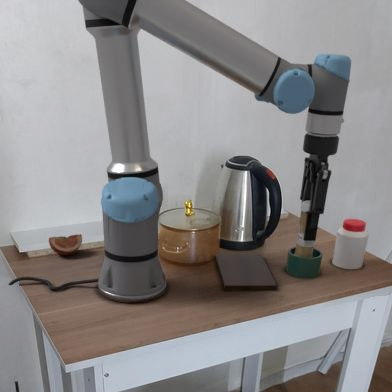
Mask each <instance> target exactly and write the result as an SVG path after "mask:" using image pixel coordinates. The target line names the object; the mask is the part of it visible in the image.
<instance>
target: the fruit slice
mask: <svg viewBox="0 0 392 392" xmlns="http://www.w3.org/2000/svg"><path fill="white" fill-rule="evenodd" d="M82 243H83V236H82V234H71V235H69V236H67V237H66V236H51V237H48V245H49V247H50V248H51V250H52V251H53V252H54V253H56V254H58V255H62V256H69V255H73V254H75V253H77V251H78V250H79V249H80V247H81V246H82Z"/></svg>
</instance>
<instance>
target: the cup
mask: <svg viewBox="0 0 392 392" xmlns="http://www.w3.org/2000/svg"><path fill="white" fill-rule="evenodd" d="M295 250H296V246H292V247H290V248H289V249H288V251H287V258H286V265H285V271H286V272H287V274H289V275H290V276H292V277H297V278H302V279H311V278H317V277H318V276H319V275H320V273H321V267H322V260H323V254H324V253H323V252H322V250H319V249H317V248H315V247H314V248H313V254H312V255H313V257H312V258H303V257H298V256H295V255H294V253H295Z"/></svg>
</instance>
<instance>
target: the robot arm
mask: <svg viewBox="0 0 392 392" xmlns="http://www.w3.org/2000/svg"><path fill="white" fill-rule="evenodd" d="M77 1H78V3H79V4H80V5H81V6H82V13H83V19H84V26H85V31H87V32H88V33H89V34H90V35H91V36H92V37H93V39H94V42H95V49H96V55H97V63H98V69H99V77H100V84H101V91H102V97H103V104H104V105H103V106H104V113H105V119H106V126H107V132H108V141H109V147H110V154H111V161H110V163H109V165H108V166H106V173H107V181H108V182H107V183H106V184H105V185H104V186H103V187H102V190H101V197H100V205H101V211H102V229H103V249H104V259H103V261H102V266H101V270H100V272H99V276H98V278H91V279H84V280H83V279H82V280H75V281H70V282H66V283H63V284H61V285H59V286H53V285H52V282H51V281H50V280H48V279H45V278H39V277H34V276H20V277H16V278H14V279H13V280H11V281H10V282H9V283H8V286H13V285H14V284H16V283H18V282H22V281H33V282H38V283H43V284H46V285H47V286H48V289H49V290H51V291H60V290H62V289H64V288H67V287H70V286H77V285H86V284H94V283H97V289H98V292H99V294H100V295H101V296H102V297H103V298H106V299H108V300H110V301H114V302H118V303H126V304H136V303H144V302H145V303H146V302H150V301H152V300H153V301H154V300H155V299H158V298H160V297H161V296H163V295H164V294H165V292H166V290H167V280H166V275H165V272H164V270H163V267H162V264H161V260H160V259H159V218H160V212H161V209H162V208H161V207H162V205H163V201H164V190H163V186H162V184H161V182H160V181H161V180H160V173H159V165H158V164H159V163H158V162H157V161H156V160H155V159H153V157H152V156H151V149H150V142H149V141H150V139H149V133H148V131H149V130H148V124H147V123H148V122H147V114H146V103H145V95H144V94H145V93H144V86H143V85H144V84H143V76H142V67H141V58H140V47H139V40H138V39H139V38H138V35H139V33H140V31H141V30H143V31H144V32H146V33H148V34H149V35H151V36H153V37H155V38H156V39H158V40H159V41H161V42H164V43H166V44H167V45H169V46H171V47H172V48H174V49H176V50H178V51H179V52H181V53H183V54H185V55H186V56H188V57H190V58H192V59H194V60H195V61H197V62H199V63H201V64H202V65H204V66H206V67H208V68H209V69H211V70H213V71H215V72H216V73H218V74H220V75H222V76H223V77H225V78H226V79H228V80H230V81H232V82H234V83H235V84H238V85H239V86H241V87H243V88H245V89H246V90H248V91H250V92H251V93H253V94H254V99H255V100H256V101H257V102H263V103H266V104H268V103H269V104H272V105H274V106H275V107H277V109H278V110H279V111H281V112H283V113H285V114H290V115H296V114H299V113H302V112H304V111H305V110H307V114H306V122H305V129H304V130H305V131H306V132H307V133H305V134H304V138H303V145H302V151H303V152H304V153H306V154H309V156H307V157H306V156H305V157H304V161H303V162H304V167H303V173H302V174H303V176H302V180H301V181H302V182H301V188H300V195H299V200H300V202H301V204H302V202H303V201H310V209H309V211H306V214H307V219H306V226H305V232H304V239H303V240H304V241H315V242H316V239H317V233H318V228H319V221H320V215H323V214H325V213H324V212H325V208H326V207H325V206H326V200H327V196H328V195H327V194H328V189H329V182H330V179H331V175H332V170H331V169H329V168H330V167H329V157H330V156H334V155H336V154H337V153H338V148H339V142H340V137H339V134H340V133H341V129H342V124H343V123H344V122H345V119H344V111H345V104H346V101H347V100H346V99H347V94H348V90H349V89H348V88H349V84H350V83H351V82H350V81H351V80H350V77H351V68H352V59H351V58H350V56H348V55H345V54H334V53H318V54H317V55H316V56H315V59H314V61H313V63H307V64H305V63H304V64H303V63H291V62H289V61H288V60H286V59H285V58H282V57H280V56H279V55H278V54H276V53H274V52H272V51H271V50H269V48H266V47H264V46H263V45H261V44H259V43H258V42H256V41H254V40H252V39H251V38H249V37H247V36H246V35H244V34H242V33H241V32H239V31H237V30H236V29H235V28H233V27H231V26H230V25H228V24H226V23H224V22H223V21H221V20H220V19H217V18H216V17H215V16H213V15H211V14H210V13H208V12H206V11H205V10H203V9H201V8H199V7H198V6H196V5H194V4H192V2H189V1H188V0H77ZM307 108H308V109H307ZM300 218H301V215H300V217H299V219H300ZM298 222H299V223H298V225H299V224H300V221H298ZM298 230H299V228H298ZM14 386H15V387H14V388H15V392H20V387H19V386H20V385H19V381H17V380H14Z"/></svg>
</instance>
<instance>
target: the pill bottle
mask: <svg viewBox="0 0 392 392" xmlns="http://www.w3.org/2000/svg"><path fill="white" fill-rule="evenodd" d="M366 226H367V223H366V222H365V221H364V220H362V219H359V218H358V219H357V218H345V219H344V220H343V223H342V226H341V227H339V228H338V229H337V231H336V236H335V242H334V247H333V253H332V259H331V263H332V264H333V266H335V267H337V268H340V269H343V270H344V269H345V270H358V269H361V268H363V266H364V260H365V256H366V249H367V246H368V241H369V236H370V234H369V231H368V230H367V229H366Z"/></svg>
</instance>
